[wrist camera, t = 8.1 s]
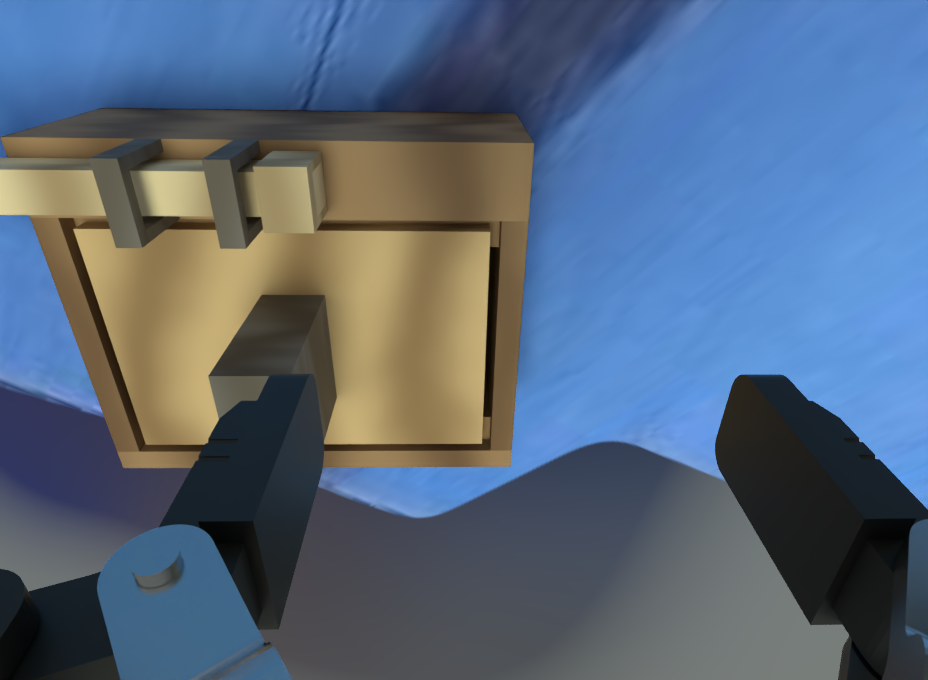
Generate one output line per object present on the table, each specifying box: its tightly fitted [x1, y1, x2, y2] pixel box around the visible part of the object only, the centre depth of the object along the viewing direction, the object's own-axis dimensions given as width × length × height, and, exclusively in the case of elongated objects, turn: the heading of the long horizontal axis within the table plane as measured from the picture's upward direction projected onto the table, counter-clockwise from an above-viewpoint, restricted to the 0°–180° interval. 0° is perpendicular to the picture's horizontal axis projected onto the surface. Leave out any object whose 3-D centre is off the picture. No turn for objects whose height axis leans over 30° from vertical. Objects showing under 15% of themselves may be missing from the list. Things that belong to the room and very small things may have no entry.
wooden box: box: [0, 108, 534, 468], centre depth 30 cm, size 22×18×12 cm
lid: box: [73, 222, 490, 445], centre depth 26 cm, size 19×12×8 cm, turn 89°
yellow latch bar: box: [0, 151, 327, 233], centre depth 24 cm, size 19×6×3 cm, turn 89°
